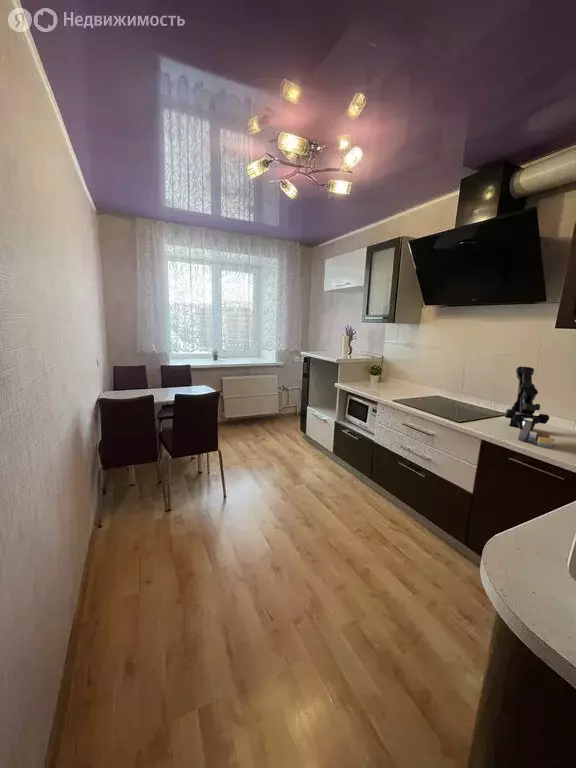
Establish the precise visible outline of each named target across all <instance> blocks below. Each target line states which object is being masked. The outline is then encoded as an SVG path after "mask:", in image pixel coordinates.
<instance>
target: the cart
mask: <svg viewBox="0 0 576 768" xmlns="http://www.w3.org/2000/svg"><path fill="white" fill-rule="evenodd" d="M536 435H537V434H535V433H534V434H533V433H530V436H529V440H528V441H529V442H531V443H532V444H533V445H534V446H537V447H542V448H550V449H551V448H552V449H553V448H554V447H555V441H556V439H555V438H553V437H550V438H545V437H538V441H537V440H536Z"/></svg>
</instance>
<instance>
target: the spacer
mask: <svg viewBox="0 0 576 768" xmlns="http://www.w3.org/2000/svg"><path fill="white" fill-rule="evenodd" d="M531 427H532V420H527V419H524V420H522V428H521V429H520V428H519V434H518V441H519V442H522V443H528V442H529V441H530V440H529V436H530V434H531V432H532V431H531Z"/></svg>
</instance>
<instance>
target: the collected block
mask: <svg viewBox="0 0 576 768" xmlns="http://www.w3.org/2000/svg"><path fill="white" fill-rule="evenodd" d="M535 435H536V440H537V441H538V437H545V438H551V435H550V434H548V433H546V432H539V431H537V432H536V434H535Z"/></svg>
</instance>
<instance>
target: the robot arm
mask: <svg viewBox="0 0 576 768" xmlns="http://www.w3.org/2000/svg"><path fill="white" fill-rule="evenodd" d="M534 373H535V368H533V367H531V366H519V367H516V369H515V374H516V378H517V379H518V388H517V396H516V401H515V402H514V404H513V405H512V406H511V407H510V408H507V409H506V411H505V412H504V418H506V419H510V422H509V424H508V426H509V427H515V428H517V429H519V430H520V429H521V428H522V420H527V419H529V420H531V422H532V427H531V431H530V432H532V431H533V430H534V428H535V426H536V425H537V424H544V425H545V424H547V423H548V421H549V420H550V415H549V414H546V413H545V414H544V413H539V414H538V415H536V414H535V411H540V410H541V404H539V403H535V404H534V400H535V398H536V397H537V395H538V394H539V391H538V389H537V388H536V386H535V384H534V383H533V382H532V381H533V378H532V377H533V375H534Z"/></svg>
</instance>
